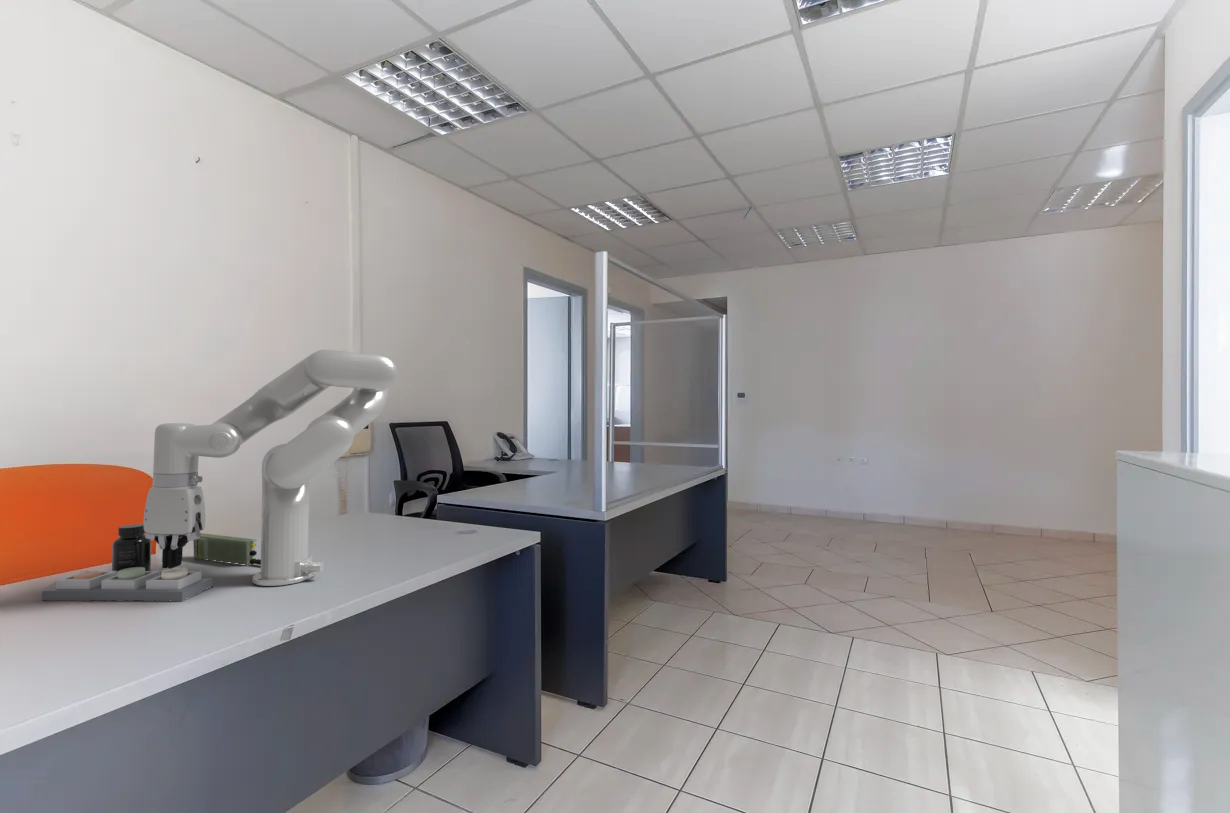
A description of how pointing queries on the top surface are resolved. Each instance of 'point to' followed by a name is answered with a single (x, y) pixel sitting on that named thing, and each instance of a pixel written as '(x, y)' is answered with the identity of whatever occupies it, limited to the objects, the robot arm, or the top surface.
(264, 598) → the top surface
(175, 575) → the cream button
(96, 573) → the terracotta button
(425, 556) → the top surface
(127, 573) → the sage button
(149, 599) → the button panel
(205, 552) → the handheld radio
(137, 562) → the supplement bottle
